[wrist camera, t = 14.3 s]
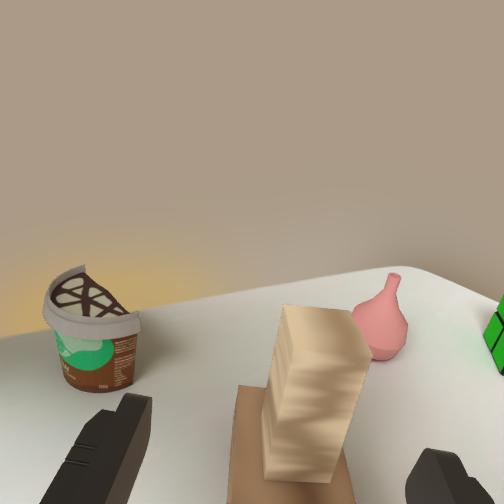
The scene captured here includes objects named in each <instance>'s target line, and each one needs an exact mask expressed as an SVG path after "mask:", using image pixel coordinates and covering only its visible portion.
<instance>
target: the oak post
mask: <svg viewBox="0 0 504 504" xmlns="http://www.w3.org/2000/svg"><path fill="white" fill-rule="evenodd" d="M372 357H373V354H372V352H371V350H370V348H369V347H368V345H367V343H366V341H365V339H364V337H363V335H362V333H361V332H360V330H359V328H358V326H357V324H356V322H355V320H354V319H353V317H352V315H351V313H350V311H347V310H337V309H327V308H316V307H306V306H296V305H285V304H283V309H282V314H281V319H280V324H279V329H278V334H277V339H276V344H275V349H274V354H273V359H272V364H271V369H270V374H269V379H268V384H267V389H266V394H265V399H264V403H263V408H262V413H261V418H260V435H261V449H262V462H263V475H264V480H271V481H292V482H313V483H330V481H331V479H332V476H333V473H334V470H335V467H336V464H337V461H338V458H339V455H340V452H341V449H342V446H343V443H344V440H345V437H346V434H347V431H348V428H349V425H350V422H351V419H352V416H353V413H354V410H355V407H356V404H357V401H358V399H359V396H360V393H361V390H362V387H363V384H364V381H365V378H366V375H367V372H368V369H369V366H370V363H371V360H372Z"/></svg>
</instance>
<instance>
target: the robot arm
mask: <svg viewBox="0 0 504 504" xmlns="http://www.w3.org/2000/svg"><path fill="white" fill-rule="evenodd" d="M151 414H152V397H148V396H143V395H137V394H132V393H126V394H125V395H124V396H123V398H122V400H121V402H120V404H119V406H118V408H117V410H116V412H114V411H109V410H103V409H102V410H101V411H99V412H98V413H97V414H96V415H95V416H94V417H93V418H92V419H90V420H89V421H88V422H87V423H86V424H85V426H84V427H83V429H82V431H81V432H80V434H79V436H78V438H77V439H76V441H75V443H74V446H73V447H72V448H71V450H70V451H69V453H68V455H67V457H66V458H65V462H64V463H63V464H62V465H61V467H60V469H59V470H58V472H57V474H56V476H55V477H54V479H53V481H52V483H51V484H50V486H49V488H48V489H47V491H46V493H45V495H44V496H43V498H42V500H41V502H40V503H39V504H127V502H128V499H129V496H130V494H131V491H132V488H133V485H134V483H135V480H136V477H137V475H138V472H139V469H140V467H141V464H142V461H143V458H144V456H145V453H146V450H147V446H148V442H149V437H150V431H151ZM405 495H406V502H407V504H495V503H494V501H493V499H492V498H491V496H490V495H489V494H488V493H487V492H486V490H485V489H484V488H483V487H482V486H481V484H480V483H479V482H478V481H477V480H476V478H473V477H468V475H467V473H466V470H465V468H464V466H463V464H462V462H461V460H460V458H459V457H458V456H457V455H456V454H455V453H452V452H447V451H441V450H436V449H430V448H426V449H424V450H423V452H422V454H421V455H420V457H419V459H418V461H417V462H416V464H415V466H414V468H413V469H412V471H411V473H410V475H409V476H408V478H407V481H406V486H405Z"/></svg>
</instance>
